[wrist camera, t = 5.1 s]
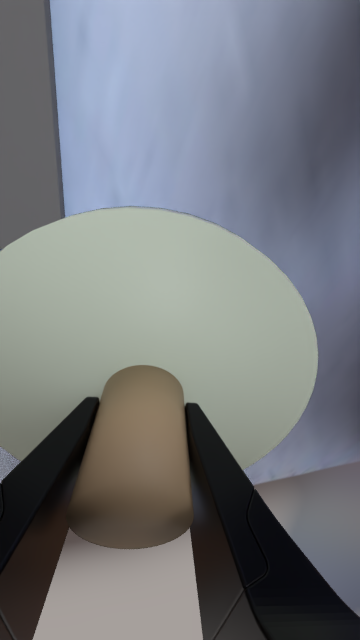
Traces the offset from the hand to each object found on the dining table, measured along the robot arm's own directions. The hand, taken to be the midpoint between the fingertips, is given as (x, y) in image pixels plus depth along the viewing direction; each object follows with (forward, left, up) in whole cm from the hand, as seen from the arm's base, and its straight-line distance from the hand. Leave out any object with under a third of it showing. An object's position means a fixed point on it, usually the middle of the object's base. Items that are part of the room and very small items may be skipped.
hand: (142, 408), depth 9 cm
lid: (0, 0, -2) cm, 2 cm away
